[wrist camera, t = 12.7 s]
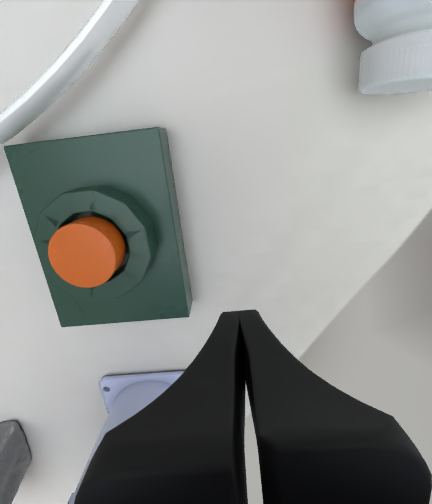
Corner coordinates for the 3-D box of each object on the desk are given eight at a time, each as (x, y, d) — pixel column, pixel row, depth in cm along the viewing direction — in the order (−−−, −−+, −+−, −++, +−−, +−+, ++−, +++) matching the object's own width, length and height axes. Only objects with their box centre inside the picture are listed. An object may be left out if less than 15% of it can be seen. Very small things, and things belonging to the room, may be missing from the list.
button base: (192, 301, 23) (185, 332, 19) (75, 311, 24) (47, 343, 20) (165, 128, 19) (150, 125, 15) (26, 145, 20) (-22, 146, 16)
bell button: (131, 272, 18) (122, 285, 17) (73, 277, 19) (58, 290, 17) (118, 212, 17) (107, 220, 16) (56, 219, 18) (38, 227, 16)
